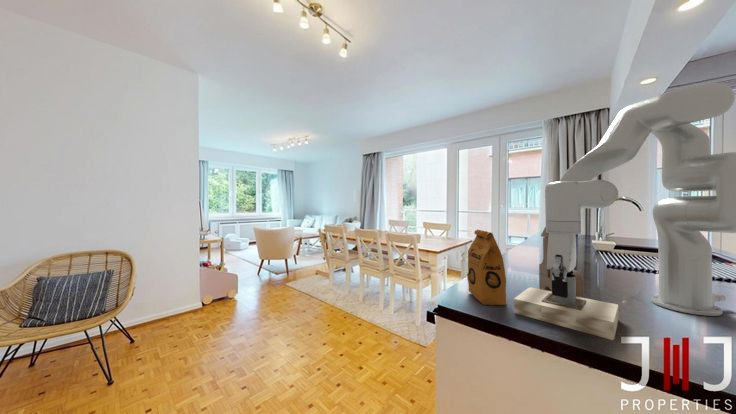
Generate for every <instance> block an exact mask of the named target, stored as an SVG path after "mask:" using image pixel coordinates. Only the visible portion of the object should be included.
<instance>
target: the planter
mask: <svg viewBox="0 0 736 414" xmlns="http://www.w3.org/2000/svg"><path fill="white" fill-rule="evenodd" d="M562 274H563V273H562ZM566 282H568V297H567V298H564V297H559V296H554V300H555V303H559V304H563V305H567V306H572V307H576V276H575V275H573V274H570V273H567V277H566Z"/></svg>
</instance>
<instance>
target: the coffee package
mask: <svg viewBox="0 0 736 414" xmlns="http://www.w3.org/2000/svg"><path fill="white" fill-rule="evenodd" d="M474 235H476V236H475V238H474V240H473V241H472V243H471V245H470V246H469V248H468V250H467V274H466V276H467V284H468V292H469V293H470V294H471V295H473V297H474V298H475V299H476V300H477V301H478V302H480V303H481V304H482V305H483V306H486V305H490V306H506V305H507V277H506V276H507V275H506V270H505V262H504V258H503V254H502V252H501V250H500V247H499V244H498V243H497V241H496V238H495V236H494V234H493V232H489V231H488V230H487V231H486V230H482V229H476V230H475V231H474Z"/></svg>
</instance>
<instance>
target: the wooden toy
mask: <svg viewBox="0 0 736 414" xmlns="http://www.w3.org/2000/svg"><path fill="white" fill-rule="evenodd" d="M540 237H543V238H542V250H543V251H542V255H543V256H542V257H543V258H542V261H541V263H539V265H538V268H539V270H538V272H539V273H538V274H539V275H538V276H539V277H538V278H539V280H538V281H539V282H538V283H539V285H538V286H539V288H538V289H542V290H547V291H552V272H553V269H551V270H548V269H547V249H548V237H549V233H546V225H545V226H544V228H543V230H542V233H541V234H540ZM574 275H575V276H576V296H577V297H582V298H584V281H583V278H582V276H581V274H580V273H579V271H578V270H574Z"/></svg>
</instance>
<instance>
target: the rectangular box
mask: <svg viewBox="0 0 736 414" xmlns="http://www.w3.org/2000/svg"><path fill="white" fill-rule="evenodd" d="M513 313H514V314H517V315H520V316H524V317H527V318H531V319H536V320H539V321H543V322H546V323H549V324H553V325H557V326H561V327H564V328H566V329H567V328H568V329H570V330H573V331H574V330H575V331H579V332H582V333H585V334H590V335H593V336H596V337H597V336H598V337H600V338H604V339H608V340H610V341H615V337H616V332H617V328H618V323H619V321H620V320H619V304H616V303H611V302H606V301H601V300H595V299H593V298H592V299H591V298H586V297H583V298H582V297H577V296H576V307H572V306H567V305H563V304H559V303H555V300H554V295H552V291H547V290H542V289H539V288H537V287H536V288H535V287H531V286H530V287H527V288H526V289H525V290H523V291H522V292H521V293H519V294H518V295H516V296H515V297H514V298H513Z"/></svg>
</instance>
